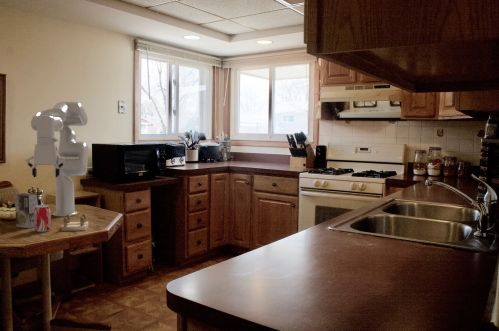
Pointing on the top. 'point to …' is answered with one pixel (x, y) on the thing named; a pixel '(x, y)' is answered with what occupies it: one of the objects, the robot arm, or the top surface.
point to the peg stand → (74, 224)
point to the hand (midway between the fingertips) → (46, 176)
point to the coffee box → (25, 209)
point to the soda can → (42, 218)
